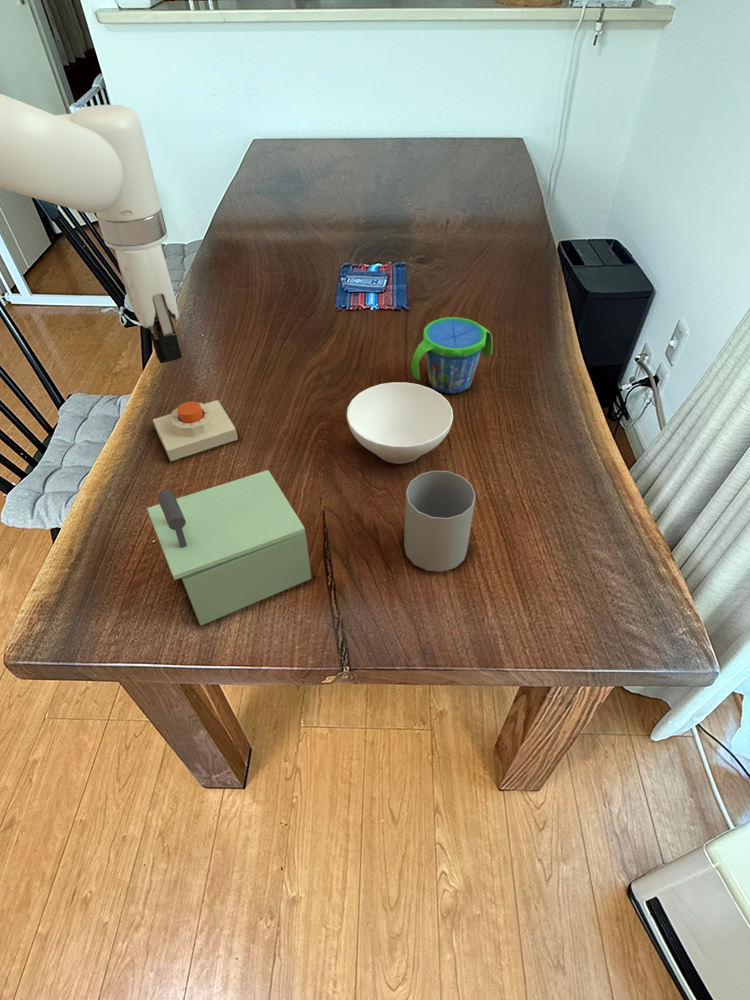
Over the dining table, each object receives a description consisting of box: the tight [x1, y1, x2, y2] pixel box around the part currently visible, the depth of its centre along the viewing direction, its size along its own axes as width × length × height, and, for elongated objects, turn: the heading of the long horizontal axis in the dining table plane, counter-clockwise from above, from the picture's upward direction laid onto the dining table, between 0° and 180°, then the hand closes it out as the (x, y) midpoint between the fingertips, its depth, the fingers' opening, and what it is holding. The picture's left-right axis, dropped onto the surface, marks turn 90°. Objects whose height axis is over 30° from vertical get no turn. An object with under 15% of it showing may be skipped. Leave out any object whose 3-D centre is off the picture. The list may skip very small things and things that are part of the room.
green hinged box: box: [180, 532, 312, 627], centre depth 74 cm, size 15×12×9 cm
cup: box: [403, 470, 477, 573], centre depth 76 cm, size 8×8×10 cm
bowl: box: [346, 381, 454, 465], centre depth 92 cm, size 16×16×7 cm
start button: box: [177, 400, 203, 423], centre depth 94 cm, size 4×4×2 cm
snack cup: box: [410, 316, 494, 395], centre depth 103 cm, size 16×10×10 cm
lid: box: [146, 469, 306, 581], centre depth 69 cm, size 15×12×6 cm
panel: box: [152, 399, 239, 462], centre depth 96 cm, size 11×9×4 cm
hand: (169, 358), depth 86 cm, fingers closed
